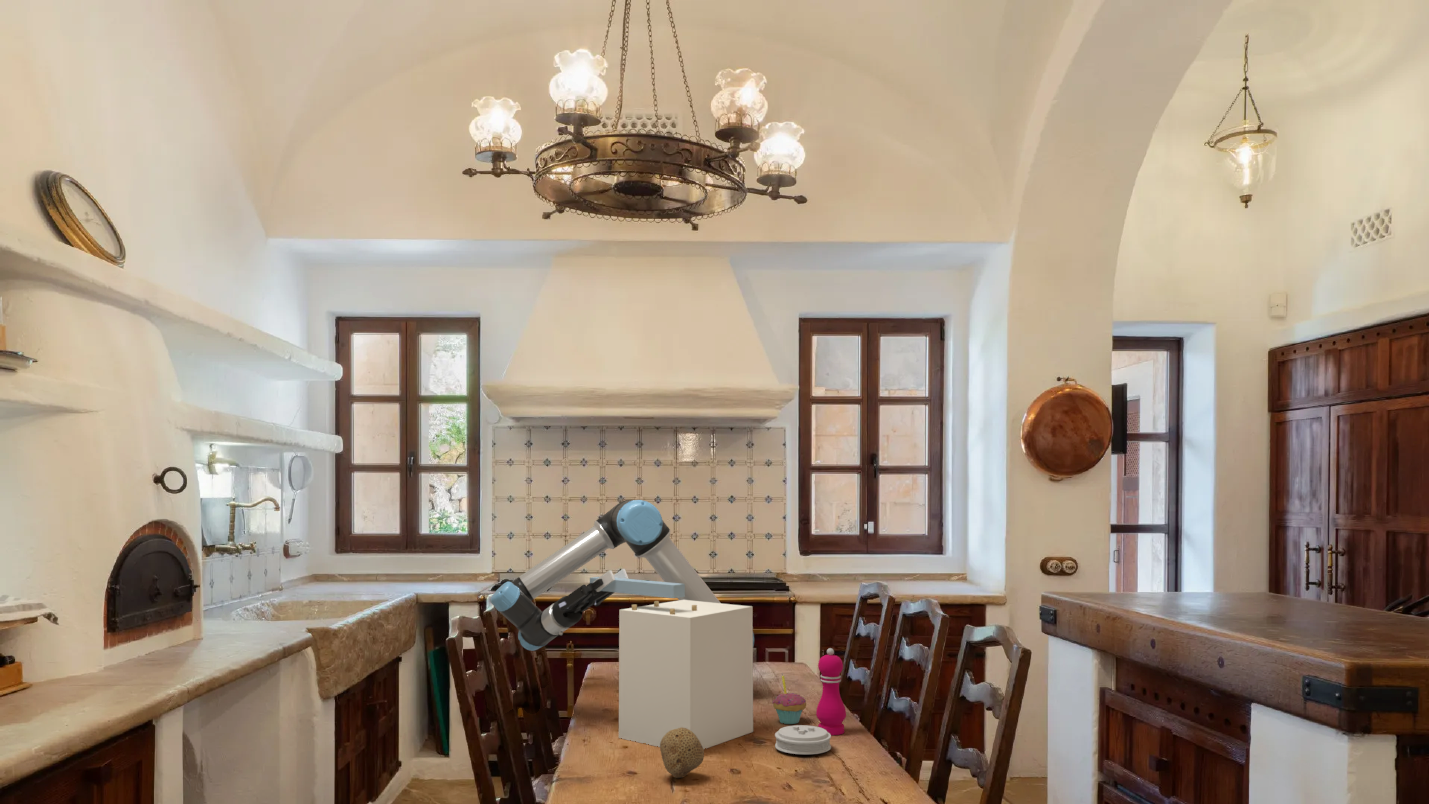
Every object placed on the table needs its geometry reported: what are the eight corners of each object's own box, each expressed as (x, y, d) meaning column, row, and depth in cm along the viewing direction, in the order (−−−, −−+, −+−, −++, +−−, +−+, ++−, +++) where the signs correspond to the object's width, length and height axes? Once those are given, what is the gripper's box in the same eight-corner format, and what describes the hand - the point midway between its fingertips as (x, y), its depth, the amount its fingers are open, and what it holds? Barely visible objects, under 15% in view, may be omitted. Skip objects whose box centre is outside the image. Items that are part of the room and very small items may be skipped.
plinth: (618, 737, 229) (619, 604, 231) (683, 718, 248) (683, 595, 250) (690, 754, 215) (690, 612, 218) (753, 731, 234) (752, 601, 237)
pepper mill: (845, 736, 230) (844, 651, 231) (814, 735, 231) (814, 650, 233) (847, 729, 237) (846, 646, 238) (817, 727, 238) (816, 645, 240)
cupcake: (767, 723, 242) (766, 674, 243) (781, 716, 250) (780, 669, 251) (798, 727, 238) (798, 678, 239) (812, 720, 246) (811, 672, 246)
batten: (589, 589, 243) (589, 577, 244) (601, 588, 246) (601, 576, 247) (673, 598, 226) (673, 585, 226) (684, 596, 229) (684, 583, 229)
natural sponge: (703, 770, 203) (703, 722, 204) (704, 784, 194) (704, 733, 195) (660, 771, 203) (660, 722, 204) (659, 784, 194) (659, 734, 195)
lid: (786, 760, 211) (785, 737, 211) (767, 745, 223) (767, 723, 224) (839, 756, 214) (839, 733, 215) (818, 741, 227) (818, 719, 227)
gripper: (591, 624, 257) (647, 585, 245) (542, 632, 244) (599, 591, 232) (581, 598, 260) (637, 558, 248) (532, 605, 246) (588, 563, 235)
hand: (618, 574), depth 240 cm, fingers closed on batten, 4 cm apart
